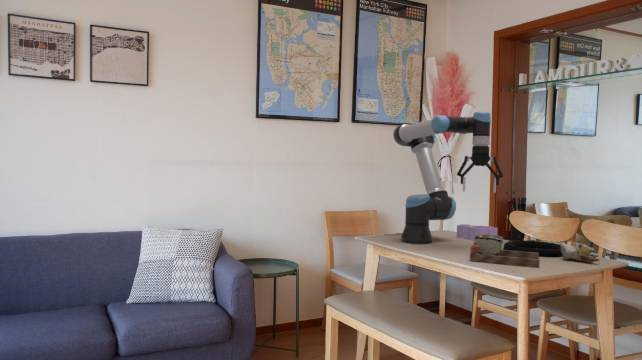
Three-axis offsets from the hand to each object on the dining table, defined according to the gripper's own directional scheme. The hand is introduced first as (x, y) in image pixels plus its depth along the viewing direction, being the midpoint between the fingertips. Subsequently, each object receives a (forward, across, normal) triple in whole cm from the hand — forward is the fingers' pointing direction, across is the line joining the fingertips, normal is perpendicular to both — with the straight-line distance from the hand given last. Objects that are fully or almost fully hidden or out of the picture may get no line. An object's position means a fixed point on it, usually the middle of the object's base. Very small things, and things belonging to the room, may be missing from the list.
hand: (479, 192), depth 239 cm
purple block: (+27, -4, +35) cm, 44 cm away
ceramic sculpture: (+27, +42, -5) cm, 50 cm away
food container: (+27, +7, -21) cm, 35 cm away
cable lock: (+27, +26, +10) cm, 39 cm away
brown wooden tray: (+27, +13, -21) cm, 36 cm away
